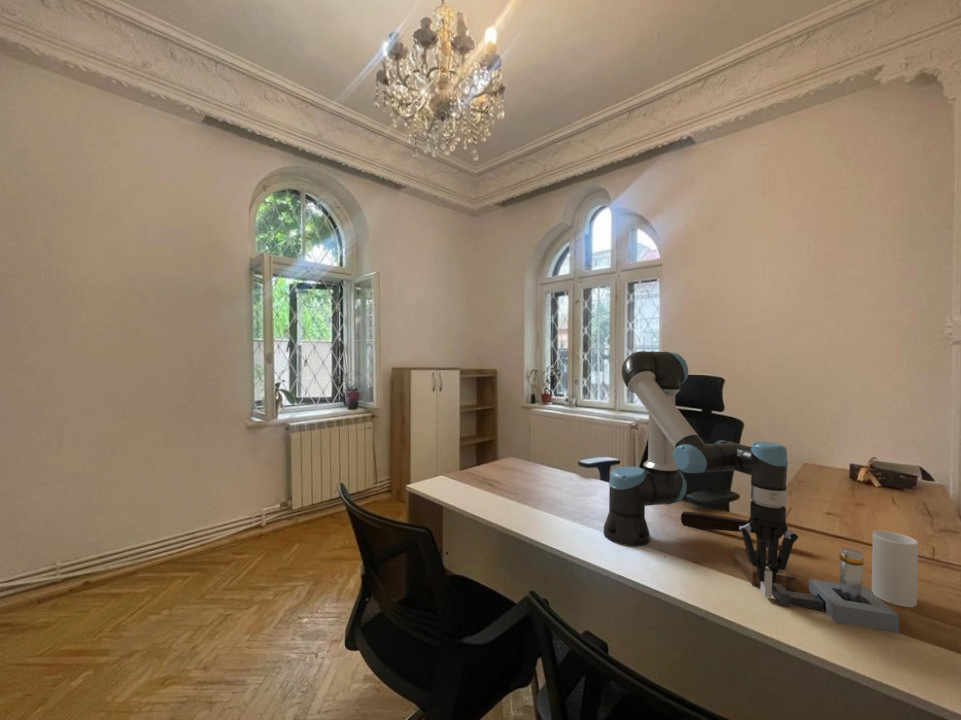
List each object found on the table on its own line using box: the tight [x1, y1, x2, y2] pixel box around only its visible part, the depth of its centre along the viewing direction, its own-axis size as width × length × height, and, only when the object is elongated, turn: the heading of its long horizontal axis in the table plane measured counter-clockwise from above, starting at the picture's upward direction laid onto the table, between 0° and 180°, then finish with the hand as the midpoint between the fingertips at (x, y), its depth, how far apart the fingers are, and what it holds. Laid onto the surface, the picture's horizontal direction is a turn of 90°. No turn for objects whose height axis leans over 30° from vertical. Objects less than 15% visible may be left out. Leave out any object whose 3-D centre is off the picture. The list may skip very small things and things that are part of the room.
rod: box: [838, 547, 865, 603], centre depth 98 cm, size 4×4×15 cm
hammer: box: [680, 510, 768, 548], centre depth 142 cm, size 5×11×30 cm
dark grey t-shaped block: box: [772, 583, 826, 611], centre depth 101 cm, size 10×5×3 cm, turn 74°
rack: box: [733, 546, 797, 592], centre depth 115 cm, size 10×15×4 cm, turn 164°
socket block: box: [808, 578, 900, 634], centre depth 98 cm, size 12×12×4 cm
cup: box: [871, 530, 919, 608], centre depth 105 cm, size 8×8×16 cm
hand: (766, 593), depth 104 cm, fingers closed
